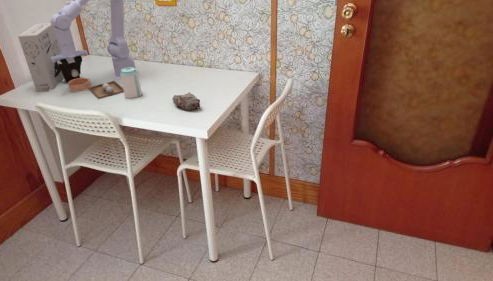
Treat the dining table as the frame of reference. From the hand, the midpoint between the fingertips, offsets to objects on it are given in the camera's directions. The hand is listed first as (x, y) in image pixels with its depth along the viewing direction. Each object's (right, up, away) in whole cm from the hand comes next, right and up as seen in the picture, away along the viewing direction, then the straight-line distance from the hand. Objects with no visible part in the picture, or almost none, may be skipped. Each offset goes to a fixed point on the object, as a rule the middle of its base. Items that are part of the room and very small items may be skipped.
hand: (74, 74), depth 167 cm
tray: (+14, -8, 0) cm, 16 cm away
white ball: (+14, -7, 0) cm, 16 cm away
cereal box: (-16, -2, +12) cm, 20 cm away
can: (+27, -10, -5) cm, 29 cm away
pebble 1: (0, -1, 0) cm, 1 cm away
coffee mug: (-6, 0, +14) cm, 15 cm away
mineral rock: (+51, -15, -14) cm, 55 cm away
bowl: (0, -5, +5) cm, 7 cm away
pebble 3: (+17, -9, -3) cm, 19 cm away
